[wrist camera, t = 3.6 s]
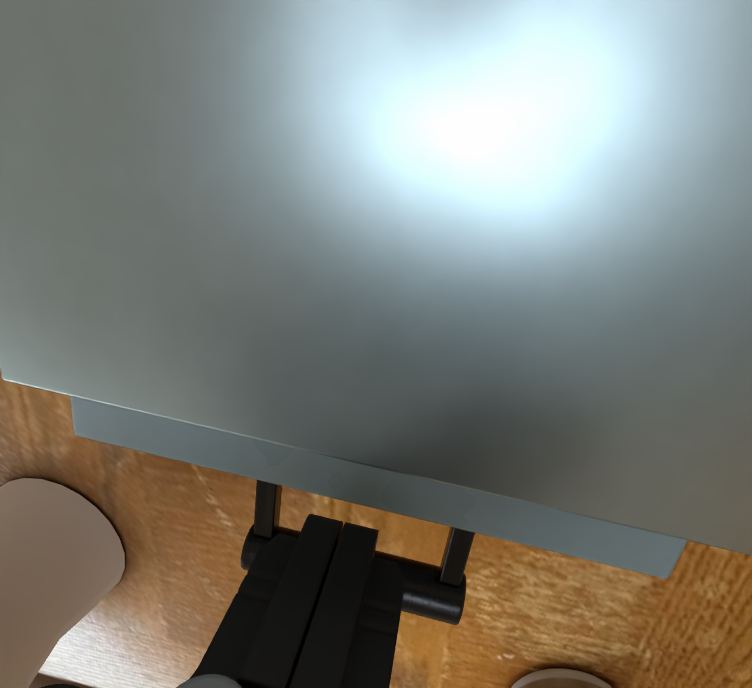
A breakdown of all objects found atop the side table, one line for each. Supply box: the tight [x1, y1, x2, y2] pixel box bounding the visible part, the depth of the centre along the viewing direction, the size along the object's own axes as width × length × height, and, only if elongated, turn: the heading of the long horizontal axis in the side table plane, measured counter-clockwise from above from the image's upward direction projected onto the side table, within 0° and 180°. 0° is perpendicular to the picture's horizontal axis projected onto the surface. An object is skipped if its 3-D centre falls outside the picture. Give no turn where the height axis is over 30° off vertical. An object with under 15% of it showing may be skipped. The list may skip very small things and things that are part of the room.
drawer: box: [70, 396, 688, 625], centre depth 12 cm, size 21×13×8 cm, turn 172°
